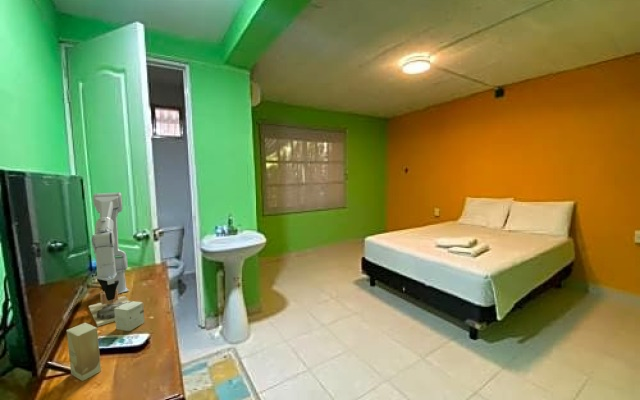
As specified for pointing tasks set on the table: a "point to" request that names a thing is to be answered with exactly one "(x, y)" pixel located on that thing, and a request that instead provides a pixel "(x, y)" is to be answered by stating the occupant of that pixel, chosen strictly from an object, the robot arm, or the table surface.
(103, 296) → the loose gear
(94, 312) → the gear board
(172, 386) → the table surface
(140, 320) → the skincare box
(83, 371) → the skincare box
